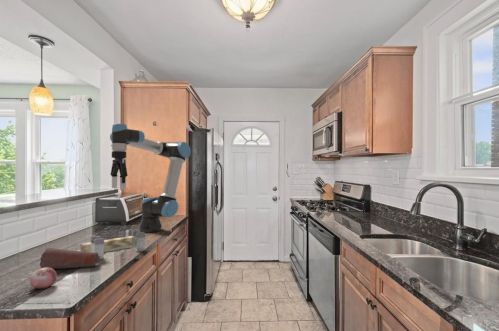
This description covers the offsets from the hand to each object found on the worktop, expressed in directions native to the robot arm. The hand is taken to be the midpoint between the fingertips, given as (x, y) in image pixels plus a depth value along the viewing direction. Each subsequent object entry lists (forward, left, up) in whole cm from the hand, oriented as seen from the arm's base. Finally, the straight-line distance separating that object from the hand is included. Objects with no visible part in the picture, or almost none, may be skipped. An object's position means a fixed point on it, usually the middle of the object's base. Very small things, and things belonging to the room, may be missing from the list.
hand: (118, 188), depth 158 cm
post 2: (-5, +17, -32) cm, 36 cm away
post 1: (+15, +17, -32) cm, 39 cm away
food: (+28, +25, -32) cm, 49 cm away
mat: (+5, +6, -32) cm, 33 cm away
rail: (+5, +5, -31) cm, 32 cm away
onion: (+39, +41, -32) cm, 65 cm away
